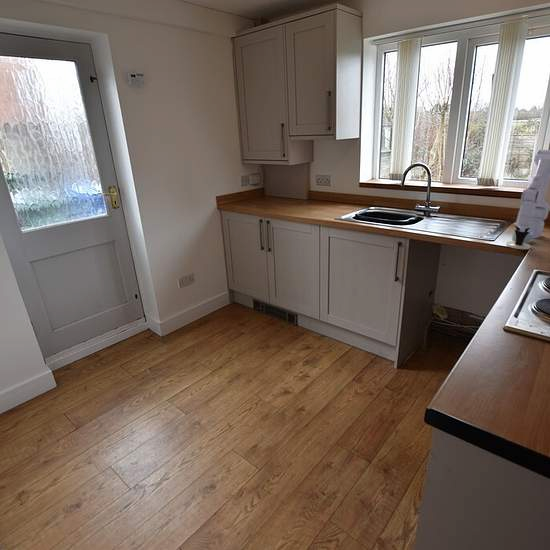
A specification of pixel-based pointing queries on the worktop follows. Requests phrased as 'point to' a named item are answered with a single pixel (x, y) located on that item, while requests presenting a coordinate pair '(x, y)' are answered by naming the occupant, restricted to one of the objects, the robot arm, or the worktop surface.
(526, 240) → the bowl
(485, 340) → the worktop surface
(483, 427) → the worktop surface
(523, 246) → the lid
